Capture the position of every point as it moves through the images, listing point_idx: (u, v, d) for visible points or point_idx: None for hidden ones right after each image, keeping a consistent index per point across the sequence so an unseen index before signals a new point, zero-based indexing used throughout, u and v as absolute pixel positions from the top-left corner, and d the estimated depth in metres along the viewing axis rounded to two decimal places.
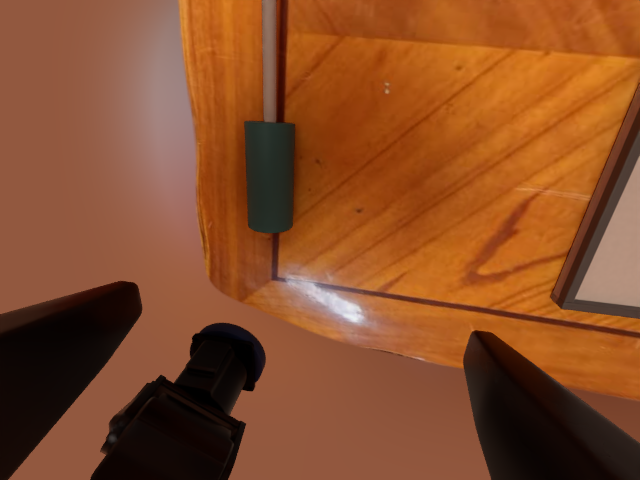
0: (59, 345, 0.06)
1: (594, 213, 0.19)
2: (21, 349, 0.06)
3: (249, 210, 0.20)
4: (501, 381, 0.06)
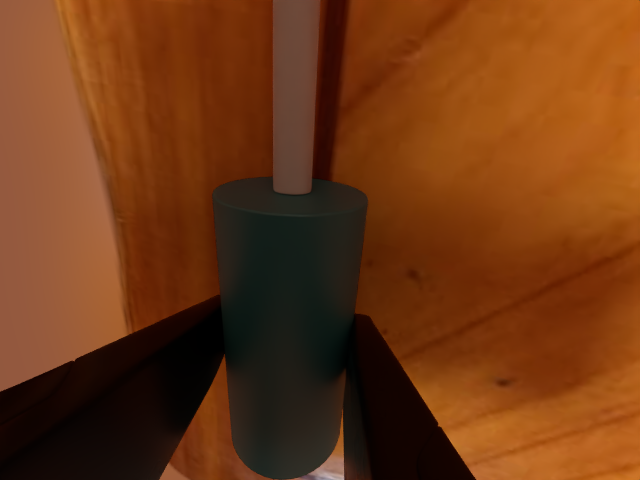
0: (184, 367, 0.06)
1: None
2: (159, 373, 0.05)
3: (231, 412, 0.08)
4: (350, 357, 0.06)
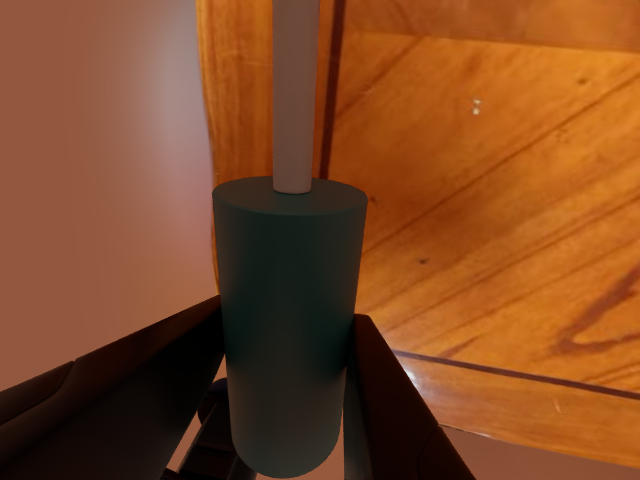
0: (184, 367, 0.06)
1: None
2: (159, 374, 0.05)
3: (231, 411, 0.08)
4: (350, 357, 0.06)
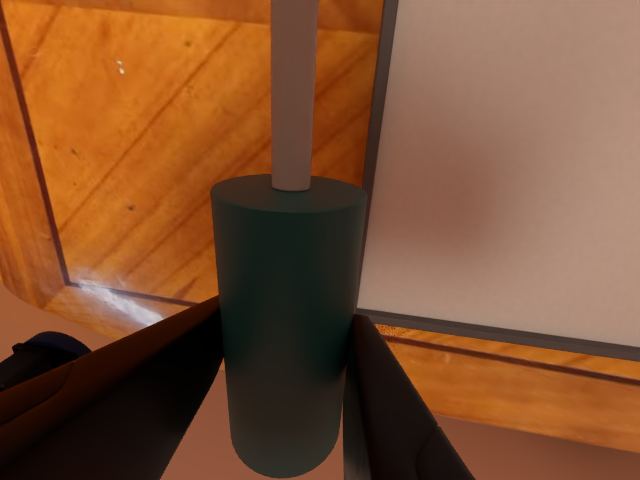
0: (184, 367, 0.06)
1: None
2: (160, 374, 0.05)
3: (229, 410, 0.08)
4: (349, 357, 0.06)
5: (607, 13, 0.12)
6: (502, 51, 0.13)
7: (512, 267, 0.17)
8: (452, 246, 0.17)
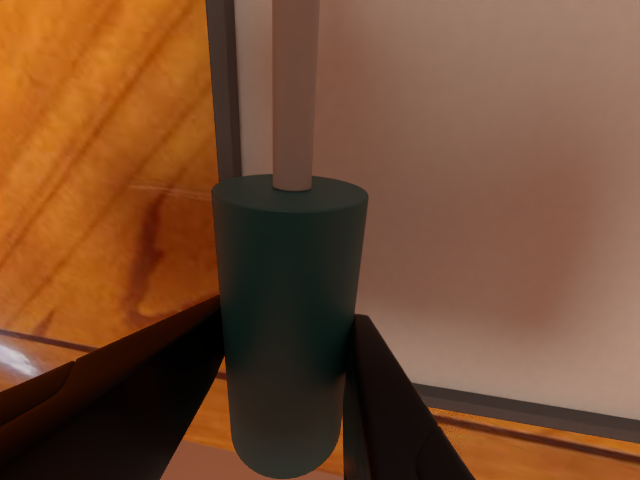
0: (184, 367, 0.06)
1: None
2: (159, 374, 0.05)
3: (230, 411, 0.08)
4: (349, 357, 0.06)
5: None
6: None
7: (456, 307, 0.11)
8: (366, 276, 0.11)
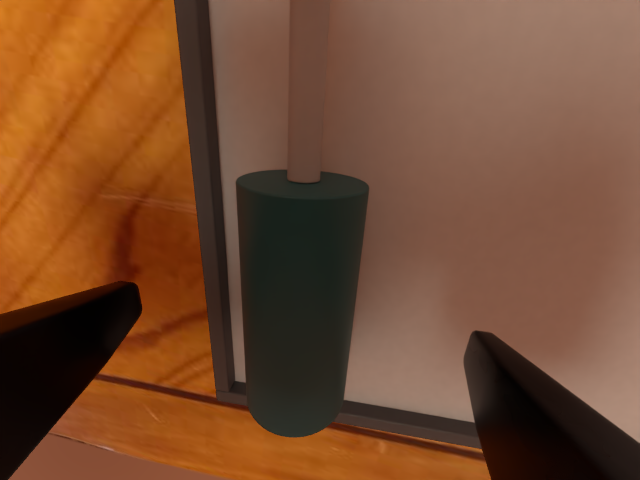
0: (59, 345, 0.06)
1: None
2: (21, 349, 0.06)
3: (248, 380, 0.09)
4: (501, 381, 0.06)
5: None
6: None
7: (463, 332, 0.10)
8: (362, 297, 0.10)
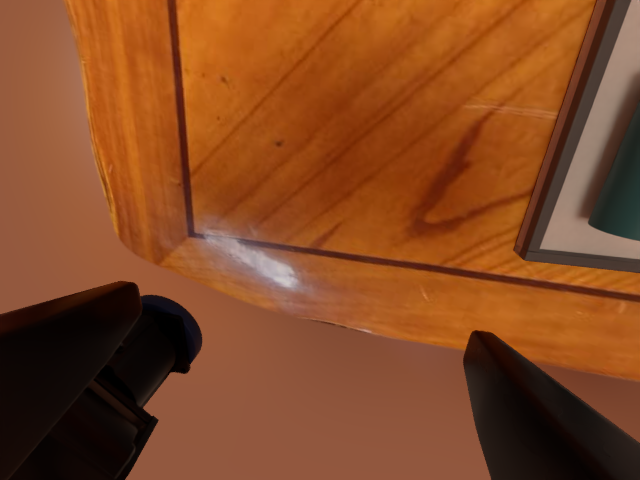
0: (59, 345, 0.06)
1: (561, 132, 0.15)
2: (21, 349, 0.06)
3: (635, 209, 0.13)
4: (501, 381, 0.06)
5: None
6: None
7: None
8: None
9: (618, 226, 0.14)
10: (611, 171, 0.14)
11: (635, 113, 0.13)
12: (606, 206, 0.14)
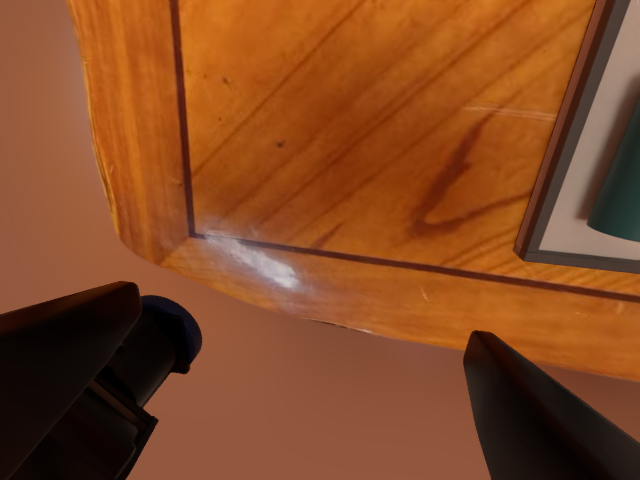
0: (59, 345, 0.06)
1: (560, 134, 0.15)
2: (21, 349, 0.06)
3: (633, 210, 0.13)
4: (501, 381, 0.06)
5: None
6: None
7: None
8: None
9: (616, 227, 0.14)
10: (609, 173, 0.14)
11: (633, 116, 0.13)
12: (605, 207, 0.14)
